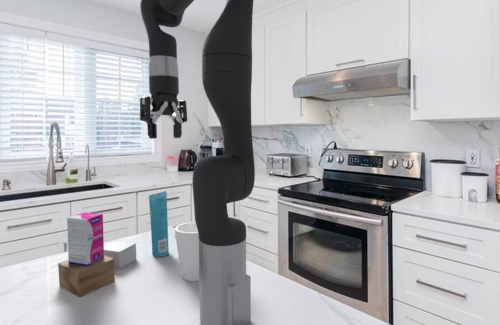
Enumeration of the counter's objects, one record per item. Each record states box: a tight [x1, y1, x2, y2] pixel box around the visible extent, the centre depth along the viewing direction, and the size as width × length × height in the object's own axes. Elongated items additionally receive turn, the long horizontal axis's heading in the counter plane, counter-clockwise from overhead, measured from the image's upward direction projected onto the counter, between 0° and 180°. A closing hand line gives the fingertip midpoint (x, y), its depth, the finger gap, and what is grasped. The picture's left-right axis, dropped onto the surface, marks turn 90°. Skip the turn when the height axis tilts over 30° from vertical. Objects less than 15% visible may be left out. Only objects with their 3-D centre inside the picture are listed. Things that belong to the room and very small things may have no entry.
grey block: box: [104, 240, 137, 270], centre depth 91 cm, size 7×7×5 cm
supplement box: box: [66, 211, 105, 266], centre depth 78 cm, size 6×6×12 cm
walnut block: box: [57, 255, 116, 298], centre depth 79 cm, size 9×9×6 cm
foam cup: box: [174, 221, 199, 282], centre depth 83 cm, size 10×9×13 cm
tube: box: [148, 190, 170, 258], centre depth 97 cm, size 7×5×19 cm, turn 160°
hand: (165, 138), depth 85 cm, fingers open, 8 cm apart
